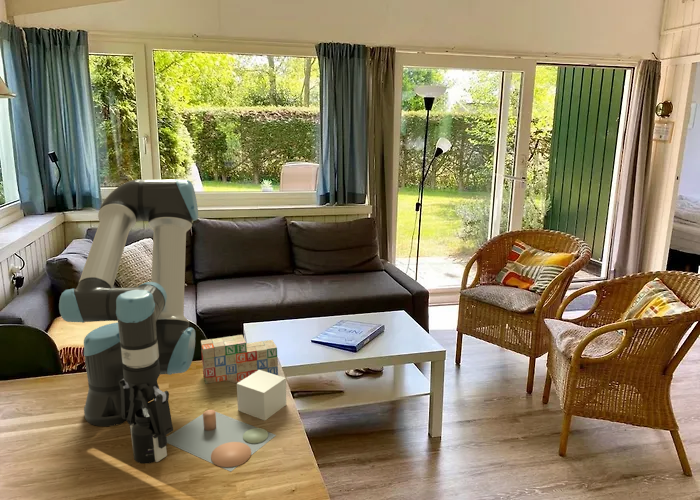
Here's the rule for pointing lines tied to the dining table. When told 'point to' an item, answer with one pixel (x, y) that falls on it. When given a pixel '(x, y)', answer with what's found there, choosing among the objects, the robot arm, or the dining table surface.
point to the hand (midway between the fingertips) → (149, 452)
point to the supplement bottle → (143, 437)
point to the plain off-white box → (261, 394)
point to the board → (220, 439)
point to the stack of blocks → (236, 358)
